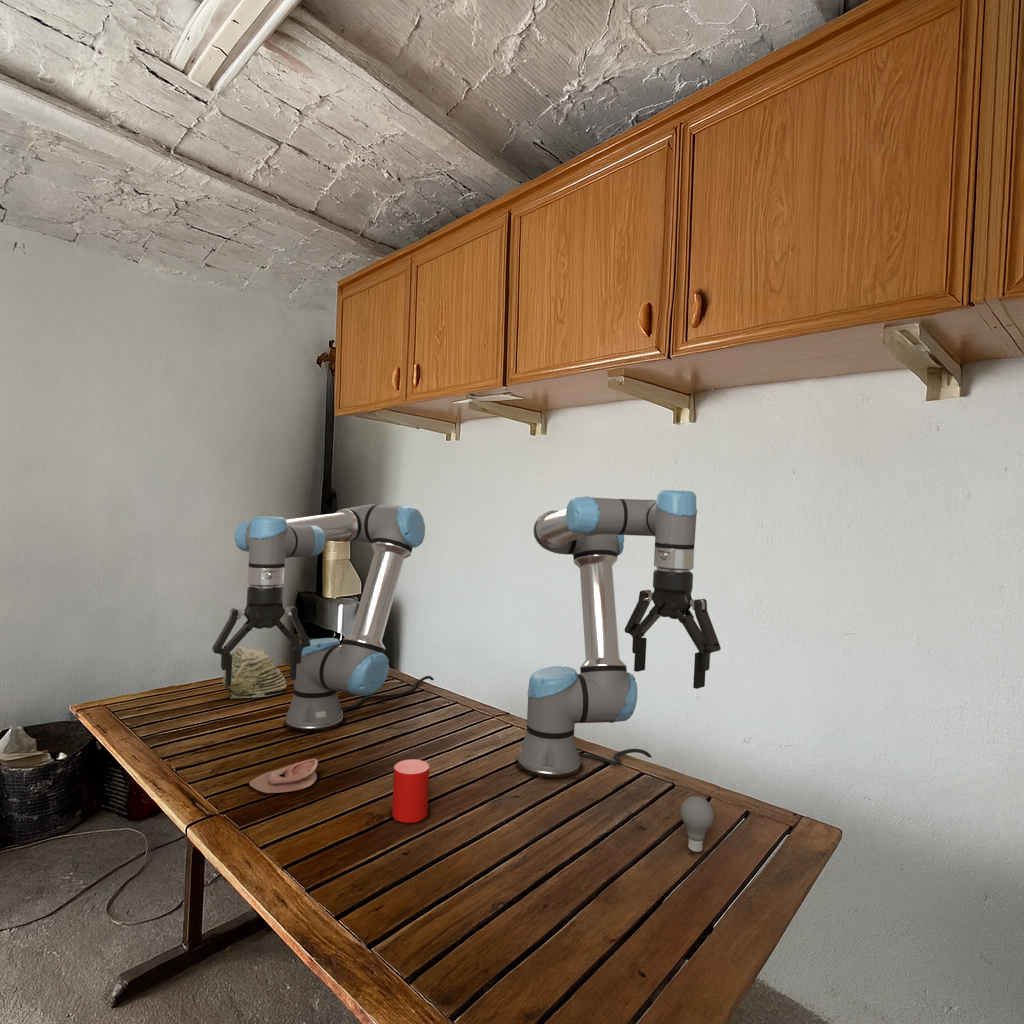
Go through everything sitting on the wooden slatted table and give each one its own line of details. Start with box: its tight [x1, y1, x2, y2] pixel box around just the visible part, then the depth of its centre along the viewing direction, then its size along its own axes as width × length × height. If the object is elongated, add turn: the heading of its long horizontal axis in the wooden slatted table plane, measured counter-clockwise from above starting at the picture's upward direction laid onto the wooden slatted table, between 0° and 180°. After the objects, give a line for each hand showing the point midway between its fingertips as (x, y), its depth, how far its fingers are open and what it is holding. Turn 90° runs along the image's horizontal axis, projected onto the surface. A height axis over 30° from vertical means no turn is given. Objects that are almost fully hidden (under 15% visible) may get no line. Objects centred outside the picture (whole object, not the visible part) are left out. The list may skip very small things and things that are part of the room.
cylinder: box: [391, 758, 430, 824], centre depth 128 cm, size 7×7×10 cm
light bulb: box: [680, 795, 715, 853], centre depth 119 cm, size 6×6×10 cm
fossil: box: [222, 646, 288, 699], centre depth 198 cm, size 9×18×15 cm, turn 132°
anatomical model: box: [248, 758, 319, 794], centre depth 139 cm, size 13×4×12 cm
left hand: (261, 681), depth 141 cm, fingers open, 13 cm apart
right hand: (668, 678), depth 123 cm, fingers open, 13 cm apart
